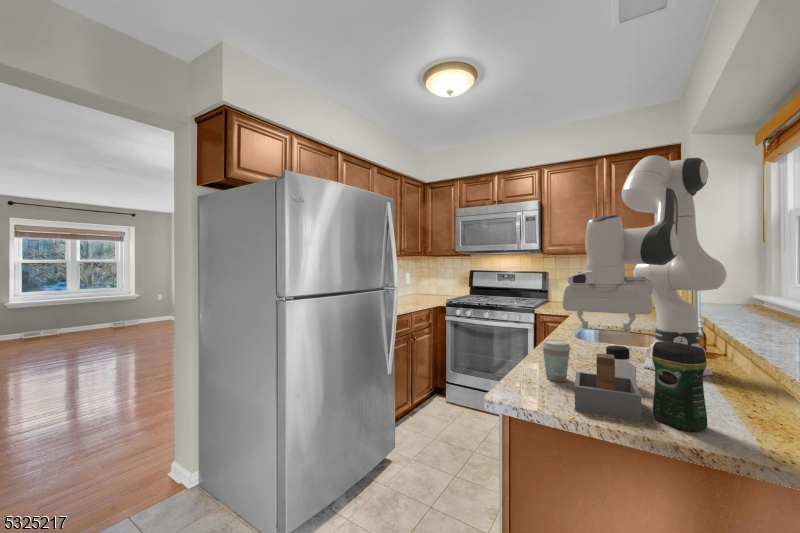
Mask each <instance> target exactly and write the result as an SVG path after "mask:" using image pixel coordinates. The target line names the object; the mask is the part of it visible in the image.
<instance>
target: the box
mask: <svg viewBox="0 0 800 533" xmlns="http://www.w3.org/2000/svg"><path fill="white" fill-rule="evenodd" d="M574 379H575V380H574V410H575V411H578V412H579V411H580V412H585V413H589V414H590V413H591V414H597V415H604V416H608V417H609V416H610V417H612V418H613V417H614V418H620V419H625V420H632V421H639V422H642V394H641V392H640V389H639V387H638V385H637V381H636V382H635V379H633V378H625V377H617V376H615V391H613V390H606V389H599V388H597V373H591V372H585V371H584V372H583V371H576V372H575V378H574Z"/></svg>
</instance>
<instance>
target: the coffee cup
mask: <svg viewBox="0 0 800 533" xmlns="http://www.w3.org/2000/svg"><path fill="white" fill-rule="evenodd" d="M541 345H542V346H541V348H542V352H543V360H544V368H545V376H546V379H547V380H549V381H550V382H555V383H557V382H558V383H562V382H563V383H564V382H566V381H567V375H568V369H569V368H568V367H569V360H570V353H571V352H570V351H571V350H572V348H571V345H570V343H569V342H568V341H565V340H560V339H544V341H543V342H542V344H541Z"/></svg>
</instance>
